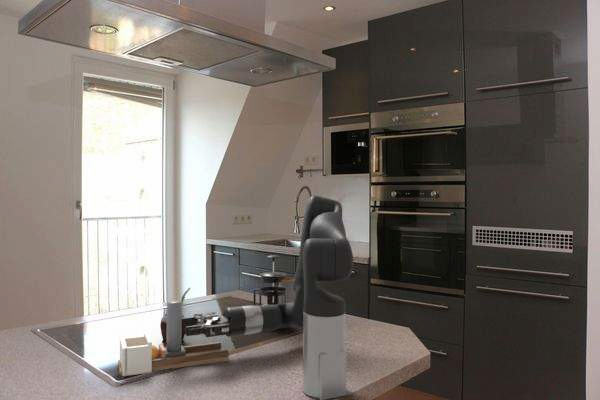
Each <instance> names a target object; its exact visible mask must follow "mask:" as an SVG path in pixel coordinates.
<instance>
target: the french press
mask: <svg viewBox="0 0 600 400" xmlns="http://www.w3.org/2000/svg"><path fill="white" fill-rule="evenodd" d="M266 257H267V258H270V259H271V261H272V271H268V272H262V273H259V277H260V282H261V283H267V284H272V286H264V287H260V288H254V290H253V306H257V299H256V298H257V291H259V295H258V296H259V299H258V300H259V301H258V302H259V303H258V304H259V305H258V306H260V305H278V304H279V296H281V295H285V303H287V289H286V288H284V287H279V286H275V285H274V284H279V282H281V281H282V280H283V279H284V278H286V277H288V274H287V273H286V272H278V271H275V262H276V259H277V258H278V259H279V258H281V256H279V255H276V254H274V255H272V254H271V255H268V256H266ZM279 291H280V292H279ZM262 296H265V297H267V298H266V303H263V304H262ZM282 329H284V328H278V329H277V330H282Z"/></svg>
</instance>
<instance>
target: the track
mask: <svg viewBox="0 0 600 400" xmlns="http://www.w3.org/2000/svg"><path fill="white" fill-rule="evenodd" d="M182 346H183V345H182ZM183 348H184V349H185V351H186V355H183V356H175V357H168V358H160V357H159V355H158V358H157V359H152V372H156V371H158V372H159V371H164V370H163V369H165V370H169V369H170V368H172V369H177V368H178V369H179V368H184V367H193V366H200V365H206V364H212V363H214V364H215V363H221V362H228V361H229V350H228V349H222V342H221V341H217V342H216V341H215V342H211V343H210V342H209V343H200V344H193V345H184V346H183ZM158 351H159V348H158ZM117 367H118V371H119V376H120V377H123V376H122V367H121V362H120V359H119V360H118V359H117ZM168 368H169V369H168ZM170 370H171V369H170Z"/></svg>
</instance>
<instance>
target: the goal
mask: <svg viewBox="0 0 600 400" xmlns="http://www.w3.org/2000/svg"><path fill="white" fill-rule="evenodd" d="M152 345H153V342H152V340H151V337H150V334H149V333H148V331H144V332H143V335H137V336H127V337H120V338H119V360H120V362H121V367H122V376H121V377H127V376H134V375H142V374H147V373H152V372H153V371H152Z"/></svg>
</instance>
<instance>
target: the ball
mask: <svg viewBox="0 0 600 400" xmlns="http://www.w3.org/2000/svg"><path fill="white" fill-rule="evenodd" d="M158 349H159V347H157V346H156V345H153V344H152V359H157V358H158V355H159V351H158Z"/></svg>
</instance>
